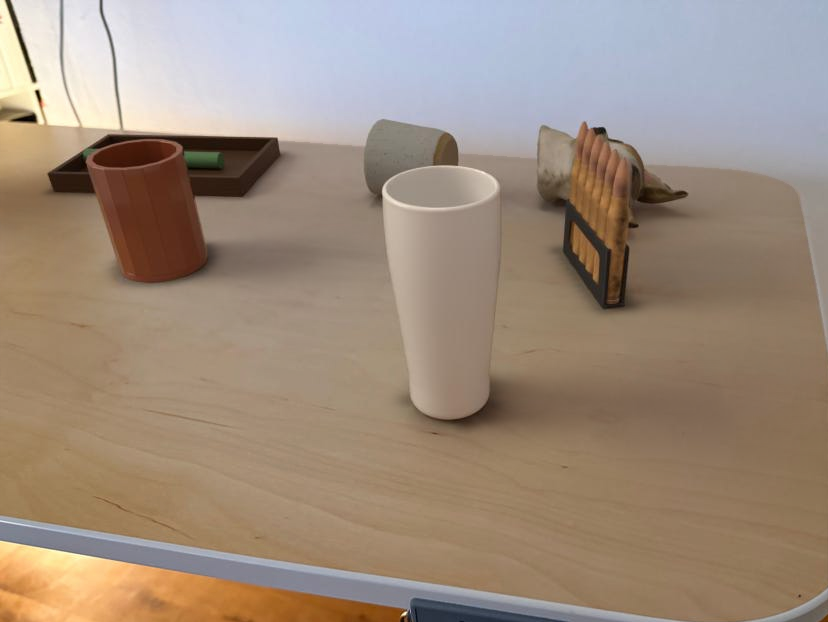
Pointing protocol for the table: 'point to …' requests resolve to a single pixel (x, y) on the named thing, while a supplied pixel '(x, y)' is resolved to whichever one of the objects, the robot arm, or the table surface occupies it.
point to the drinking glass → (445, 282)
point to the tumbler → (149, 208)
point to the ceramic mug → (404, 151)
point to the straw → (190, 159)
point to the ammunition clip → (598, 218)
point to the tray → (234, 179)
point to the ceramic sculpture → (559, 162)
